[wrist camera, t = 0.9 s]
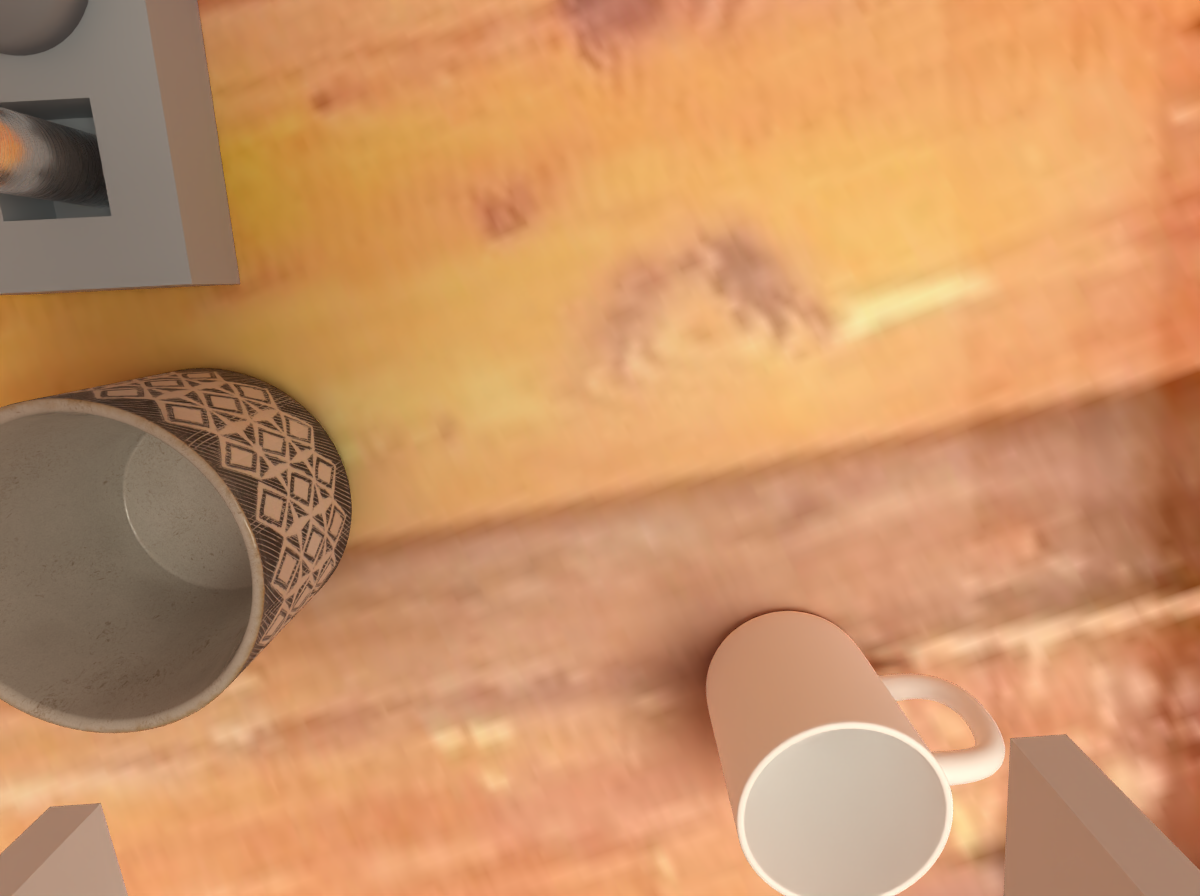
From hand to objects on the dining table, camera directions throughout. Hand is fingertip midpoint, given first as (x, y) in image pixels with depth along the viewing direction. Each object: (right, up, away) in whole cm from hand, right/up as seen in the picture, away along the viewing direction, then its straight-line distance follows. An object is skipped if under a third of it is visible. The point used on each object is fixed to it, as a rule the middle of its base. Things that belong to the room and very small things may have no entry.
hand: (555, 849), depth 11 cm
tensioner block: (-21, +21, +21) cm, 37 cm away
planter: (-18, +4, +26) cm, 31 cm away
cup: (+12, -6, +27) cm, 30 cm away
